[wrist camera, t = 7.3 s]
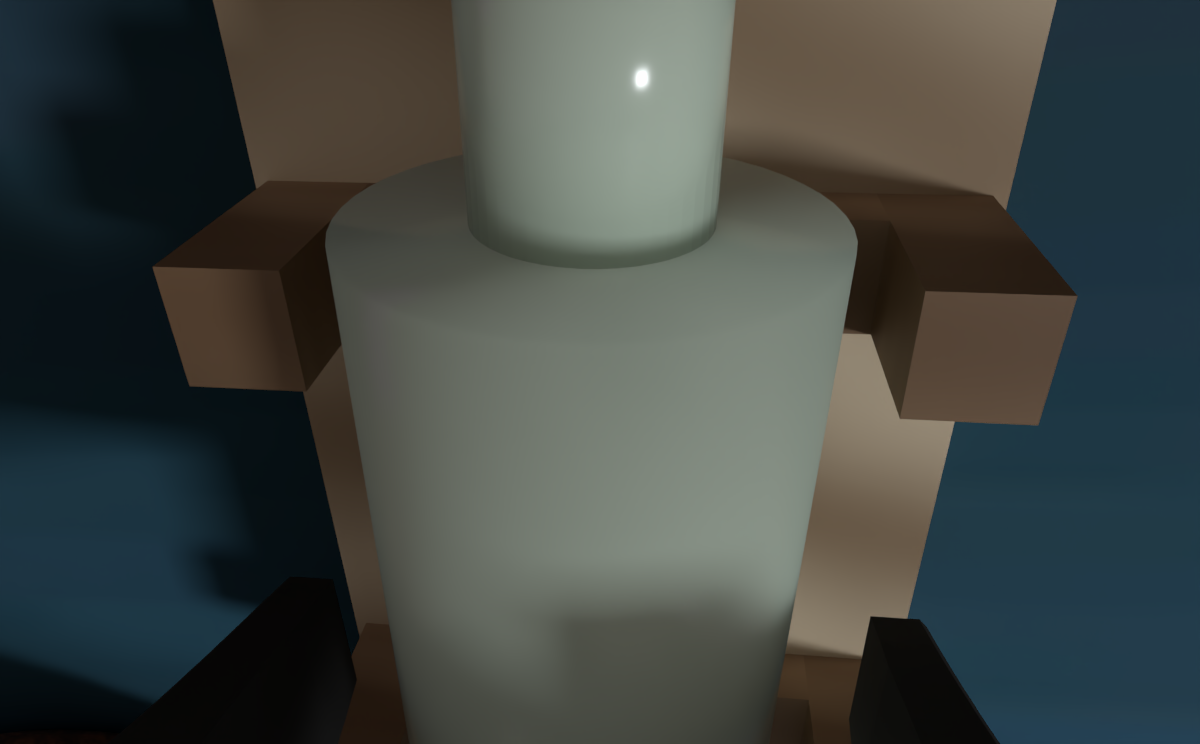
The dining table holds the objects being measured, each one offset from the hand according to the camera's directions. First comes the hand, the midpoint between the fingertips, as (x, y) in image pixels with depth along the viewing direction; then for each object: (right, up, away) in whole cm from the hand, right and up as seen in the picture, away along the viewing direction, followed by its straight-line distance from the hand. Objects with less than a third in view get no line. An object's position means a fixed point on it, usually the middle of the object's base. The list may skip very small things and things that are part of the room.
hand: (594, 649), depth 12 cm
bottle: (0, +3, +1) cm, 3 cm away
